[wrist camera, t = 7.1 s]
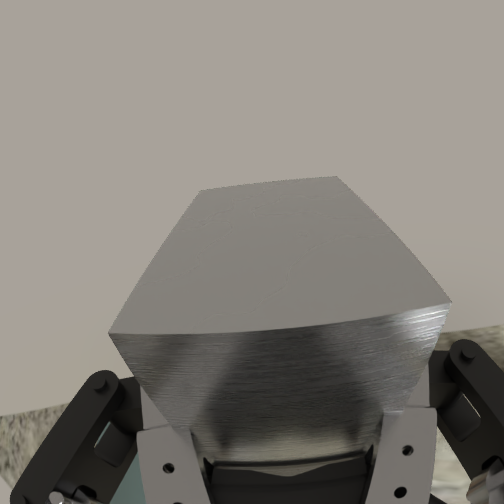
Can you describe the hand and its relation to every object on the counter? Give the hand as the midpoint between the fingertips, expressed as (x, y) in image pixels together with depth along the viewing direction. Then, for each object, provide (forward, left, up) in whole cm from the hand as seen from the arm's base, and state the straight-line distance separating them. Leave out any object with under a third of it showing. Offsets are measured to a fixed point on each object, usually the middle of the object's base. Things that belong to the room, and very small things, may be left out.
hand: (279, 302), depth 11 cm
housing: (0, +3, -7) cm, 7 cm away
